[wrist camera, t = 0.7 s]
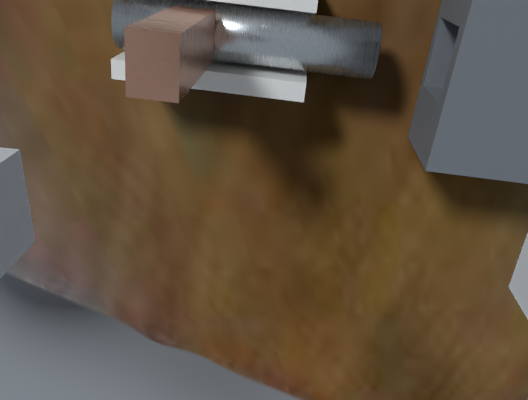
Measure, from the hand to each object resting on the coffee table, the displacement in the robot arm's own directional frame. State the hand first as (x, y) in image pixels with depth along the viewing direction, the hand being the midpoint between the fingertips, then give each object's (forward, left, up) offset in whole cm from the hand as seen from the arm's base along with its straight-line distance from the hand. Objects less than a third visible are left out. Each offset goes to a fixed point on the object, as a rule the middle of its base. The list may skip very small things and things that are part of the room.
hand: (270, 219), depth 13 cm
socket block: (-1, +13, -24) cm, 27 cm away
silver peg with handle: (-1, -3, -23) cm, 23 cm away
